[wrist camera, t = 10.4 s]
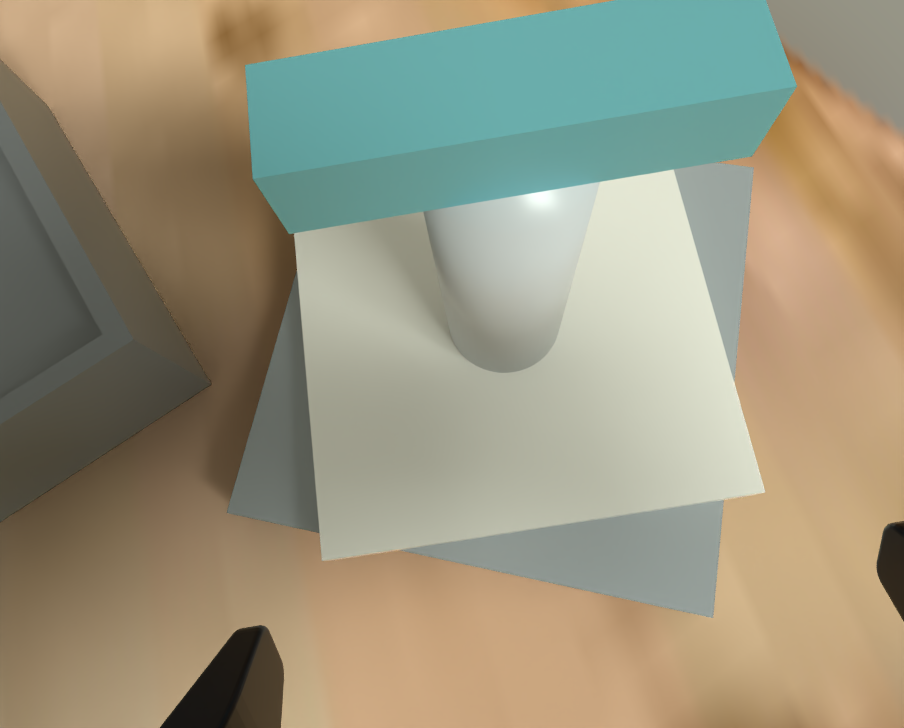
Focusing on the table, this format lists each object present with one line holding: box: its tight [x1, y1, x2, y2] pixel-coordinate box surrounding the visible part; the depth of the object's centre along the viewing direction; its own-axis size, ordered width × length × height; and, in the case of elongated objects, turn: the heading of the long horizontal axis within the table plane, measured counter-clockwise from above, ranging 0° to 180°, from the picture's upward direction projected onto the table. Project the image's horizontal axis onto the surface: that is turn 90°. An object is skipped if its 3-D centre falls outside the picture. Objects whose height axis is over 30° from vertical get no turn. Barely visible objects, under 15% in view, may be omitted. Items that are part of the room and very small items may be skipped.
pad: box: [227, 163, 754, 618], centre depth 19 cm, size 13×13×2 cm
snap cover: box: [245, 0, 797, 561], centre depth 13 cm, size 11×11×10 cm
